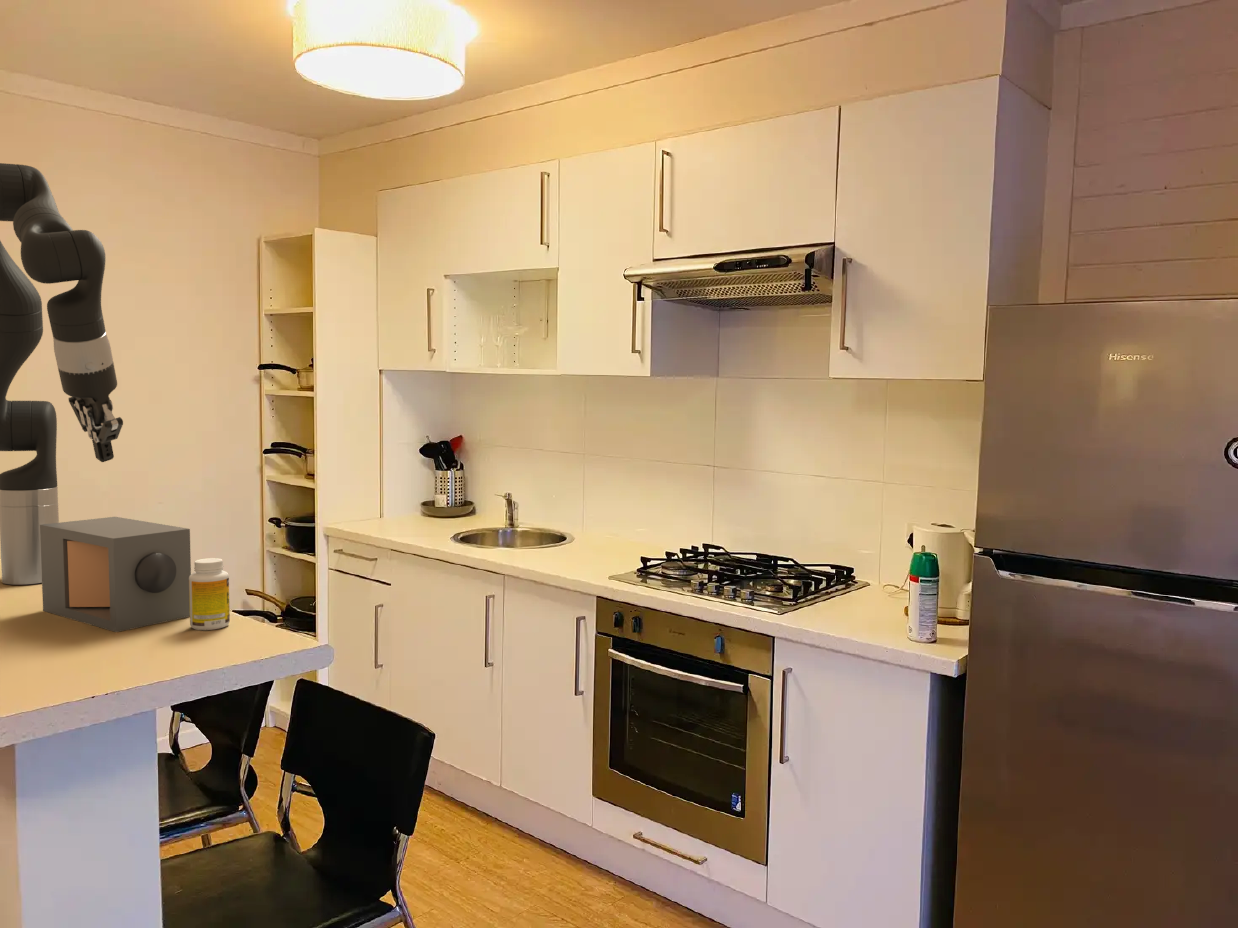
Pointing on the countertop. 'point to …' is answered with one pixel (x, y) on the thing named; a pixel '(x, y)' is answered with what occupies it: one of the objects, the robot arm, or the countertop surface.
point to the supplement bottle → (209, 595)
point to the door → (88, 575)
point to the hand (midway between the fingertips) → (105, 458)
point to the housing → (121, 571)
